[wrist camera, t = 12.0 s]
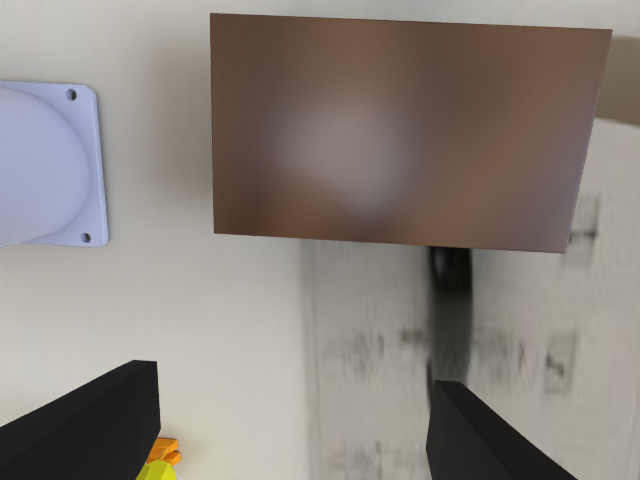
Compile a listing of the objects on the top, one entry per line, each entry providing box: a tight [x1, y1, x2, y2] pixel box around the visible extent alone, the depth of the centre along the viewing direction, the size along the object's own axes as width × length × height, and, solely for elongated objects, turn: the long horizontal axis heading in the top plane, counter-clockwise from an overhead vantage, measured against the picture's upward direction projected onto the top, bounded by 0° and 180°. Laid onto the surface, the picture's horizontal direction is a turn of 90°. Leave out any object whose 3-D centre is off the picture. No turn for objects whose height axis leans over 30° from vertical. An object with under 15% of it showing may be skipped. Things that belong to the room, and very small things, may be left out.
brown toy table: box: [210, 13, 613, 253], centre depth 16 cm, size 14×8×4 cm, turn 87°
